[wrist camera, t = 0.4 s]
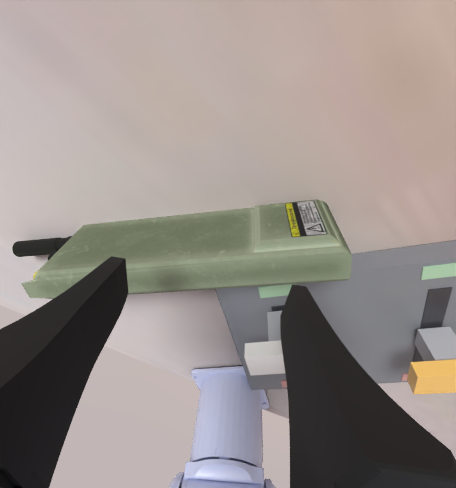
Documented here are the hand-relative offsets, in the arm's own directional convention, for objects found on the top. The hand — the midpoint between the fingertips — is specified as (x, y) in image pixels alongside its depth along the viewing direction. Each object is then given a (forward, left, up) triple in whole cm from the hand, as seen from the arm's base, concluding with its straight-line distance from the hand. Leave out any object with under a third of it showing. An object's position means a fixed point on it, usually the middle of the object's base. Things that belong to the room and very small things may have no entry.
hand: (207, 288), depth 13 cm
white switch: (-11, -3, -7) cm, 14 cm away
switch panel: (-15, -9, -10) cm, 20 cm away
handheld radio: (-2, +5, -10) cm, 12 cm away
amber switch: (-15, -14, -7) cm, 22 cm away
